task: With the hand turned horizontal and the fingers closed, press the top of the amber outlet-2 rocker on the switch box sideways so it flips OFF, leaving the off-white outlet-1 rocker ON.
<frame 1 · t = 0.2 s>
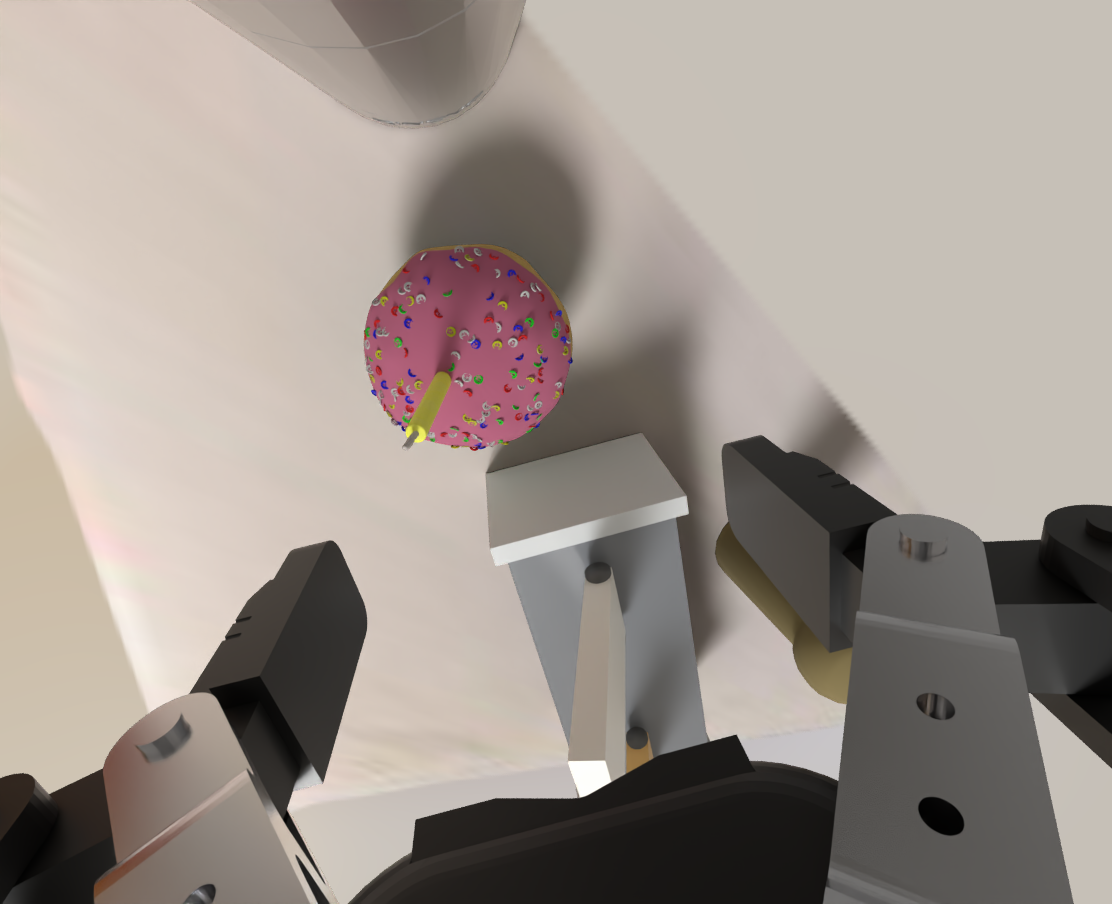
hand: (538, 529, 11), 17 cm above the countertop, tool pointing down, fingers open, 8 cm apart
switch box: (597, 593, 35), on the countertop
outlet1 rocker: (602, 679, 22), point 11 cm above the countertop, hinge at 15.0°
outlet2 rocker: (644, 838, 27), point 11 cm above the countertop, hinge at 15.0°
cork: (758, 540, 35), on the countertop
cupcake: (470, 326, 26), on the countertop
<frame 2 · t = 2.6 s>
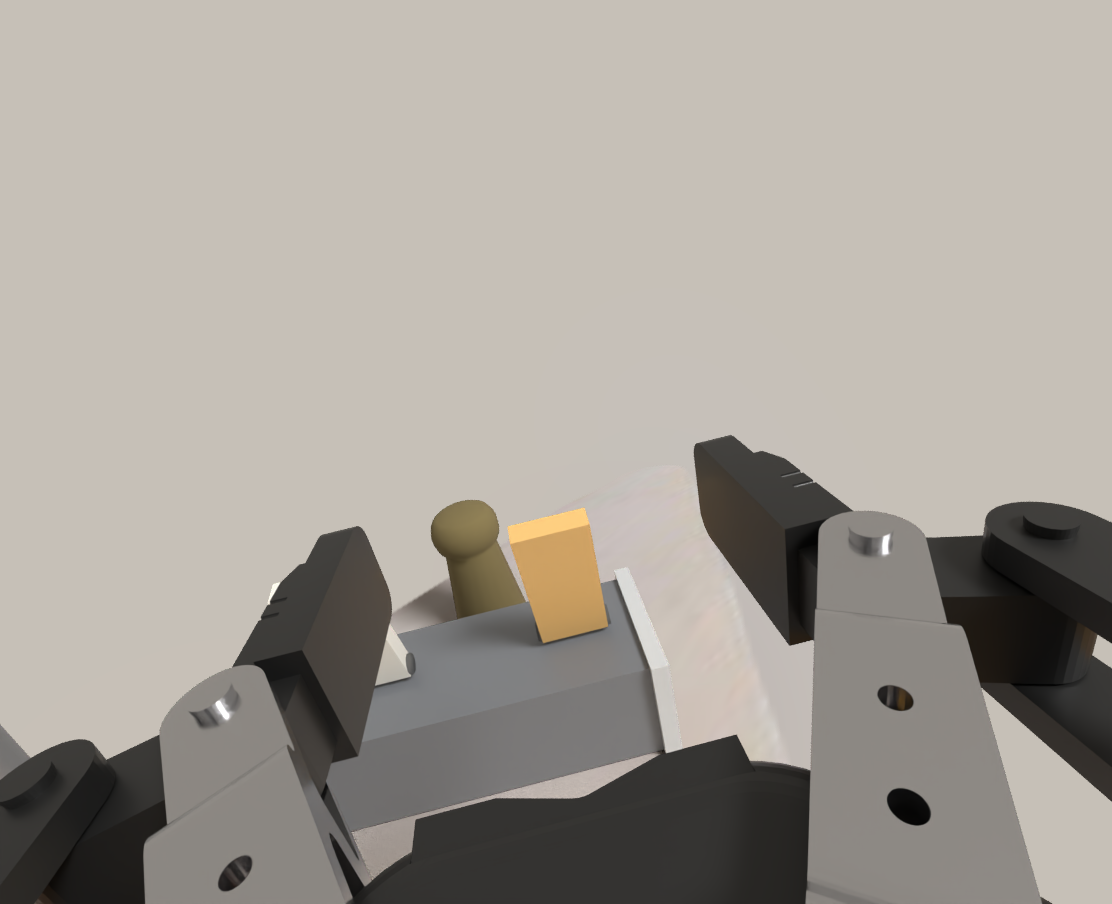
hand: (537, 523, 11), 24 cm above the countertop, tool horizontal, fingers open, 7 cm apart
switch box: (505, 731, 35), on the countertop
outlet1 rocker: (348, 635, 29), point 11 cm above the countertop, hinge at 15.0°
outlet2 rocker: (562, 581, 30), point 11 cm above the countertop, hinge at 15.0°
cork: (495, 622, 45), on the countertop
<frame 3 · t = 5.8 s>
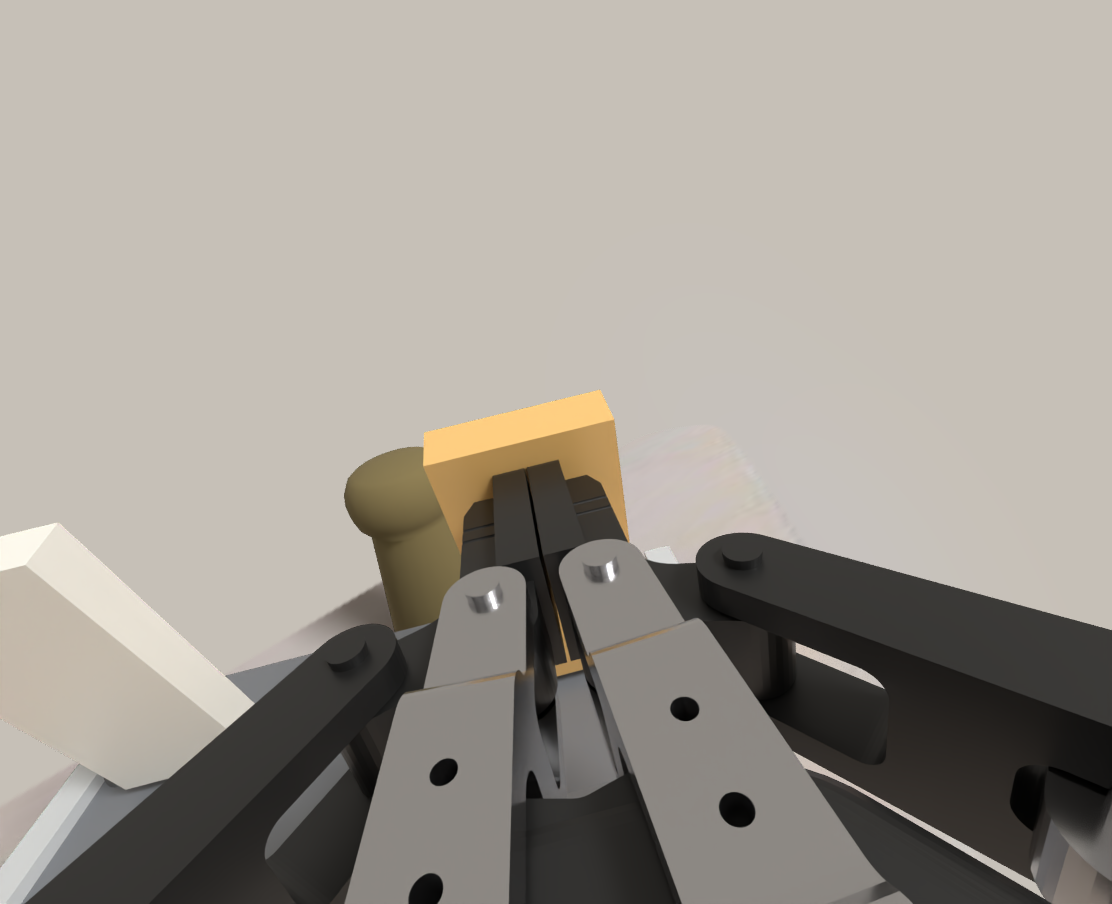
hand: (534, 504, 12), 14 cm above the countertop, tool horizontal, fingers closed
switch box: (455, 839, 20), on the countertop
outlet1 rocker: (100, 679, 14), point 11 cm above the countertop, hinge at 15.0°
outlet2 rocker: (552, 564, 14), point 11 cm above the countertop, hinge at 14.9°, touching gripper
cork: (456, 638, 30), on the countertop
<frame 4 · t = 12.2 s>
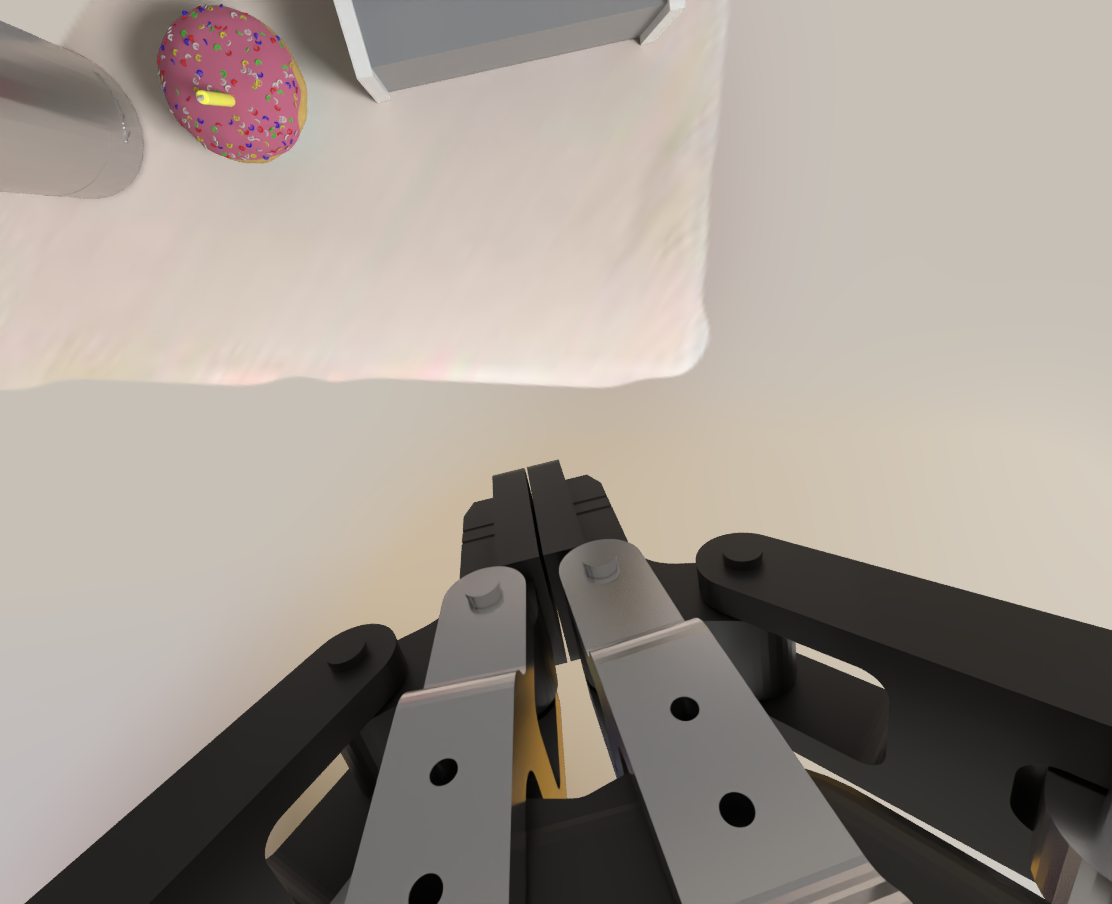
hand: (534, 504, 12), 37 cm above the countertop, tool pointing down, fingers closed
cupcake: (262, 103, 39), on the countertop
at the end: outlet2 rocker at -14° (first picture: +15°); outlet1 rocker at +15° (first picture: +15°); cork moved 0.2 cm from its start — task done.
